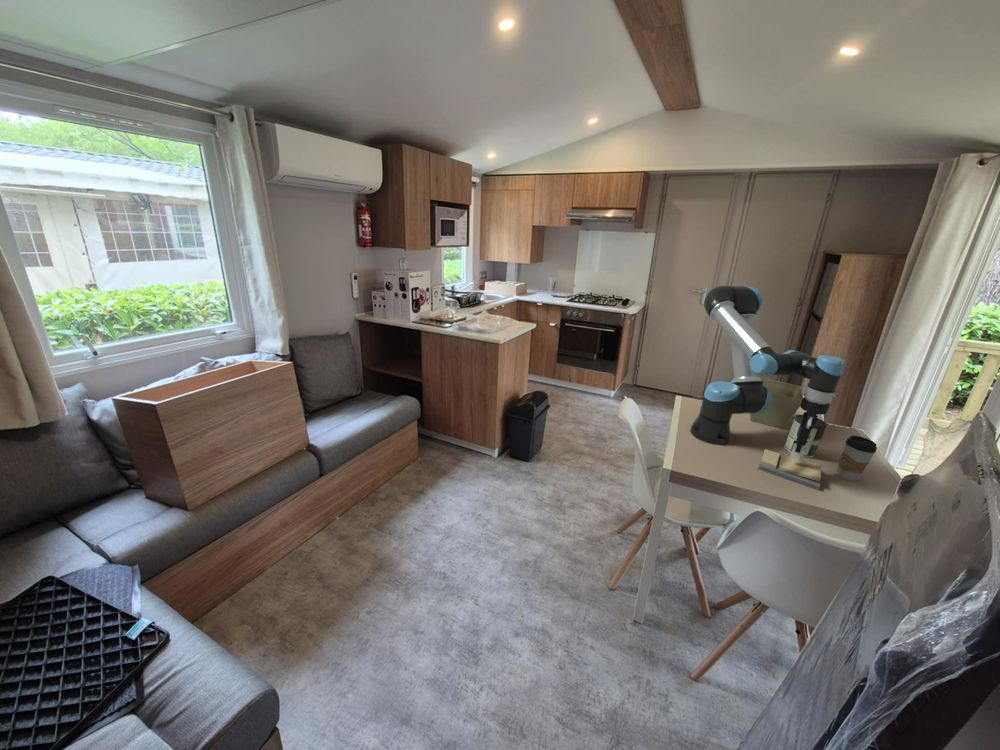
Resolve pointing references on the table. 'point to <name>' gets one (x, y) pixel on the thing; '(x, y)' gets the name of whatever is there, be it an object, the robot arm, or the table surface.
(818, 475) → the plank
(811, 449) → the coffee can
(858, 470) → the coffee cup
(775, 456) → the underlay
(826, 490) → the table surface
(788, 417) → the flower pot
